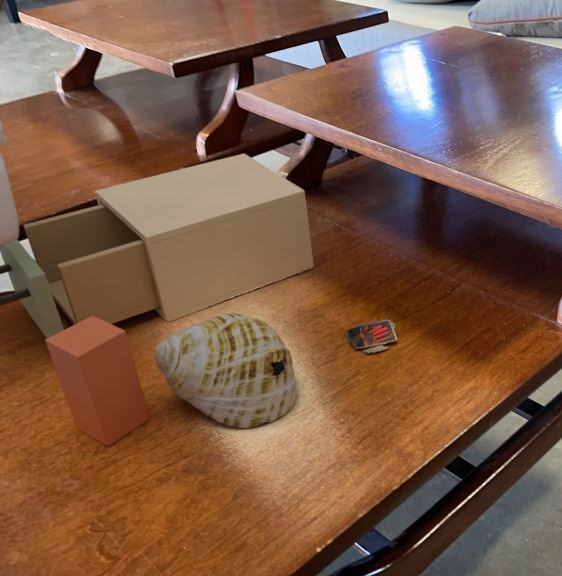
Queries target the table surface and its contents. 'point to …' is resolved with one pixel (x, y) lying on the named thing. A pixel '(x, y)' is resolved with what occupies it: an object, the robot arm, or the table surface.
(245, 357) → the seashell
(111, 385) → the block
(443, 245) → the table surface
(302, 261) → the cabinet
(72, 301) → the drawer
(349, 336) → the matchbox
